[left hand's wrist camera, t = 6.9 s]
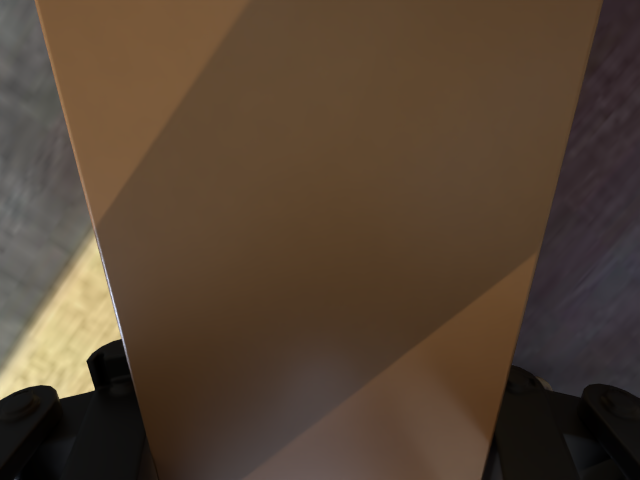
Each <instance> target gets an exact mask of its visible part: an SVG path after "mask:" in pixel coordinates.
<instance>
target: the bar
mask: <svg viewBox="0 0 640 480" xmlns="http://www.w3.org/2000/svg"><path fill="white" fill-rule="evenodd" d="M35 4H36V8H37V12H38V16H39V19H40V23H41V27H42V31H43V35H44V39H45V43H46V47H47V51H48V54H49V58H50V62H51V66H52V70H53V74H54V78H55V82H56V86H57V89H58V93H59V97H60V101H61V105H62V109H63V113H64V117H65V121H66V124H67V128H68V132H69V136H70V140H71V144H72V148H73V152H74V156H75V159H76V163H77V167H78V171H79V175H80V179H81V183H82V187H83V191H84V194H85V198H86V202H87V206H88V210H89V214H90V218H91V222H92V225H93V229H94V233H95V237H96V241H97V245H98V249H99V253H100V257H101V260H102V264H103V268H104V272H105V276H106V280H107V284H108V288H109V292H110V295H111V299H112V303H113V307H114V311H115V315H116V319H117V323H118V327H119V330H120V334H121V338H122V342H123V346H124V350H125V354H126V358H127V362H128V365H129V369H130V373H131V377H132V381H133V385H134V389H135V393H136V396H137V400H138V404H139V408H140V412H141V416H142V420H143V424H144V428H145V431H146V435H147V439H148V443H149V447H150V451H151V455H152V459H153V463H154V466H155V470H156V474H157V478H158V480H482V479H483V475H484V471H485V467H486V464H487V460H488V456H489V452H490V448H491V444H492V440H493V436H494V432H495V428H496V424H497V420H498V416H499V412H500V408H501V404H502V400H503V396H504V392H505V388H506V384H507V380H508V376H509V372H510V368H511V364H512V360H513V356H514V352H515V349H516V345H517V341H518V337H519V333H520V329H521V325H522V321H523V317H524V313H525V309H526V305H527V301H528V297H529V293H530V289H531V285H532V281H533V277H534V273H535V269H536V265H537V261H538V257H539V253H540V249H541V245H542V241H543V238H544V234H545V230H546V226H547V222H548V218H549V214H550V210H551V206H552V202H553V198H554V194H555V190H556V186H557V182H558V178H559V174H560V170H561V166H562V162H563V158H564V154H565V150H566V146H567V142H568V138H569V134H570V130H571V126H572V123H573V119H574V115H575V111H576V107H577V103H578V99H579V95H580V91H581V87H582V83H583V79H584V75H585V71H586V67H587V63H588V59H589V55H590V51H591V47H592V43H593V39H594V35H595V31H596V27H597V23H598V19H599V15H600V11H601V8H602V4H603V0H35Z"/></svg>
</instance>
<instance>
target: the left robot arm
mask: <svg viewBox="0 0 640 480" xmlns="http://www.w3.org/2000/svg"><path fill="white" fill-rule="evenodd" d="M87 364H88V368H89V371H90V374H91V377H92V381H93V384H94V387H95V391H91V392H88V393H84V394H79V395H75V396H71V397H66V398H62V399H59V397H58V394H57V391H56V390H55V389H54V388H52V387H51V386H44V385H39V386H33V387H28V388H25V389H22V390H19V391H17V392H14V393H13V394H11V395H9V396H7V397H5V398H3V399H2V400H0V480H158V478H157V474H156V470H155V466H154V463H153V459H152V455H151V451H150V447H149V443H148V439H147V435H146V431H145V428H144V424H143V420H142V416H141V412H140V408H139V404H138V400H137V396H136V393H135V389H134V385H133V381H132V377H131V373H130V369H129V365H128V362H127V358H126V354H125V350H124V346H123V342H122V339H120V340H116V341H113V342H110V343H108V344H106V345H104V346H102V347H100V348H99V349H98V350H96V351H95V352H94V353H92V354H91V356H90V357H89V358H88V360H87ZM482 480H640V398H638V397H636V396H634V395H632V394H631V393H629V392H627V391H625V390H622V389H619V388H617V387H614V386H610V385H604V384H592V385H588V386H587V387H586V388H585V389H584V390H583V393H582V396H581V398H580V397H575V396H571V395H567V394H562V393H558V392H554V391H550V390H547V389H545V388H544V386H543V385H542V383H541V382H540V380H538V379H537V378H536V377H535V376H534V375H532V374H531V373H529V372H528V371H526V370H524V369H522V368H520V367H516V366H513V365H511V368H510V372H509V376H508V380H507V384H506V388H505V392H504V396H503V400H502V404H501V408H500V412H499V416H498V420H497V424H496V428H495V432H494V436H493V440H492V444H491V448H490V452H489V456H488V460H487V464H486V467H485V471H484V475H483V479H482Z"/></svg>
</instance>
